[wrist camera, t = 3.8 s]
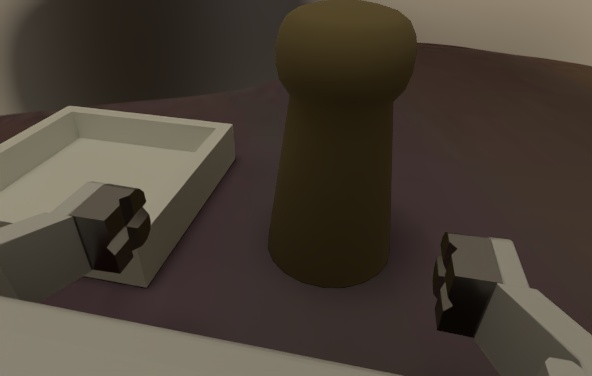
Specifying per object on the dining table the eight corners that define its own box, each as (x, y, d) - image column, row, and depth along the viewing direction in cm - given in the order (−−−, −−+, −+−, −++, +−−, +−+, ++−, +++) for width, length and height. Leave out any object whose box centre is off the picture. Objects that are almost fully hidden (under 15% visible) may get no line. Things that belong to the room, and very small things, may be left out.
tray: (235, 158, 27) (232, 124, 26) (146, 287, 18) (135, 243, 16) (79, 139, 29) (68, 105, 28) (-78, 245, 19) (-105, 203, 18)
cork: (244, 259, 19) (227, 7, 13) (300, 195, 24) (307, -14, 18) (367, 307, 17) (416, 31, 11) (403, 226, 22) (451, -1, 15)
